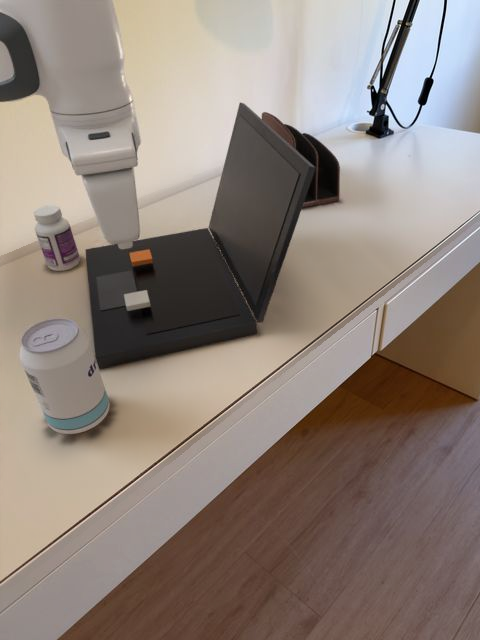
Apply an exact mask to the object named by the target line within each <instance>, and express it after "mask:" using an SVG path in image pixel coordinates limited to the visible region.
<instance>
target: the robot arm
mask: <svg viewBox="0 0 480 640" xmlns="http://www.w3.org/2000/svg"><path fill="white" fill-rule="evenodd" d="M118 21H119V20H118V17H117V12H116V8H115V5H114V1H113V0H0V103H5V102H6V103H8V102H9V103H11V102H12V103H13V102H19V101H23V100H25V99H27V98H30V97H33V96H41V97H43V98H44V99H45V100H46V102H47V104H48V108H49V112H50V115H51V118H52V119H51V120H52V122H53V125H54V129H55V133H56V136H57V139H58V144H59V147H60V150H61V153H62V155H63V156H64V157H66V158H67V159H68V161H69V162H70V164H71V167H72V170H73V173H74V174H75V175H76V176H81V180H82V183H83V186H84V188H85V191H86V193H87V196H88V199H89V201H90V204H91V207H92V209H93V212H94V215H95V218H96V220H97V223H98V225H99V228H100V231H101V233H102V235H103V237H104V239H105V240H106V243H108V245H113V244H118V247H119V248H120V249H128V248H131V247H132V246H133V243H132V241H136V240H140V239H139V238H140V235H141V226H140V214H139V204H138V195H137V185H136V177H135V168H137V167H138V165H139V159H138V151H139V147H140V145H141V144H142V139H141V133H140V127H139V123H138V118H137V112H136V108H135V102H134V97H133V94H132V91H131V88H130V86H129V84H128V82H127V79H126V75H125V49H124V44H123V40H122V34H121V30H120V25H119V22H118Z"/></svg>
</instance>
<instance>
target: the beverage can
mask: <svg viewBox="0 0 480 640" xmlns="http://www.w3.org/2000/svg"><path fill="white" fill-rule="evenodd" d="M20 343H21V347H20V349H19V360H20V363H21V365H22V368H23V370H24V372H25V374H26V376H27V379H28V382H29V384H30V386H31V388H32V390H33V393H34V395H35V397H36V400H37V403H38V404H39V406H40V409H41V411H42V413H43V416H44V418H45V420H46V422H47V424H48V426H49V428H50V429H51V430H53V431H54V432H57V433H59V434H64V435H76V434H81V433H84V432H86V431H89V430H91V429H93V428H95V427H96V426H97V425H99V424H100V423H102V422H103V420H104V419H105V418H107V417H106V416H107V415H108V413H109V411H110V408H111V407H110V404H111V403H110V400H109V396H108V393H107V391H106V387H105V383H104V381H103V377H102V375H101V372H100V369H99V367H98V364H97V361H96V358H95V352H94V349H93V347H92V344H91V341H90V338H89V335H88V334H87V333H86V332H85V331H84V330H83V329H81V328H80V327H79V326H78V324H77V323H76V322H75V321H74V320H72V319H69V318H65V317H55V318H54V317H53V318H49V319H44V320H42V321H39V322H37V323H35V324H33V325H31V326H30V327H28V328H27V329H26V330H25V331H24V332H23V334H22V336H21V337H20Z"/></svg>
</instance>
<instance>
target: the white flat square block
mask: <svg viewBox="0 0 480 640" xmlns="http://www.w3.org/2000/svg"><path fill="white" fill-rule="evenodd" d="M124 298H125V303H126V308H127V311H131V310H135V309H140V308H145V307H150V306H151V305H150V301H149V297H148V293H147V290H144V291H139V292H134V293H129V294H124Z"/></svg>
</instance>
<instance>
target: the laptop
mask: <svg viewBox="0 0 480 640" xmlns="http://www.w3.org/2000/svg"><path fill="white" fill-rule="evenodd" d="M132 243H133V246H132V247H131V248H128V249H120V248H119V247H118V244H107V245H101V246H96V247H91V248H86V249H85V259H86V271H87V281H88V282H87V283H88V292H89V302H90V314H91V324H92V335H93V346H94V356H95V359H96V362H97V365H98V368H99V370H101V369H104V368H105V369H106V368H109V367H113V366H119V365H124V364H127V363H132V362H138V361H142V360H145V359H151V358H154V357H159V356H164V355H168V354H174V353H177V352H183V351H187V350H191V349H196V348H200V347H205V346H209V345H214V344H218V343H222V342H226V341H227V342H228V341H233V340H237V339H241V338H245V337H249V336H254V335H257V334H258V327H257V326H258V325H257V323H258V322H257V320H256V318H255V316H254V315H253V313H252V311H251V309H250V307H249V305H248V303H247V301H246V299H245V297H244V295H243V293H242V291H241V289H240V288H239V286H238V284H237V282H236V280H235V278H234V276H233V274H232V272H231V270H230V268H229V266H228V264H227V263H226V261H225V259H224V257H223V255H222V253H221V251H220V249H219V247H218V245H217V243H216V241H215V239H214V237H213V236H212V234H211V232H210V230H209V228H208V227H205V228H200V229H193V230H188V231H183V232H176V233H171V234H165V235H160V236H159V235H158V236H153V237H148V238H141V239H137V240H135V241H132ZM148 249H150V252H151V256H152V259H153V263H149V264H144V265H138V266H132V262H131V258H130V254H129V253H131V252H137V251H143V250H148ZM144 290H147V293H148V297H149V301H150V305H151V306H150V307H145V308H140V309H135V310H131V311H127V308H126V303H125V298H124V294H129V293H134V292H139V291H144Z"/></svg>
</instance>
